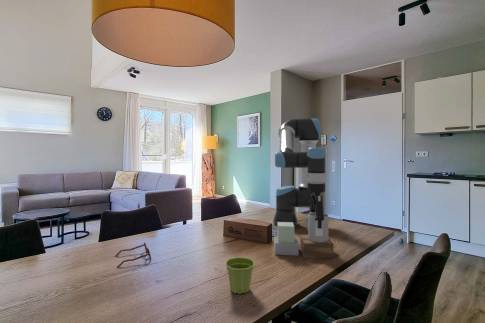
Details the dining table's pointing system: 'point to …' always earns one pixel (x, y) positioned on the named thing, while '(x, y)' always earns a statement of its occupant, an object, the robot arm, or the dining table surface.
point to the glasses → (137, 257)
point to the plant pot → (240, 274)
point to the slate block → (286, 247)
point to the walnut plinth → (316, 248)
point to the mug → (311, 228)
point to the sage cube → (285, 232)
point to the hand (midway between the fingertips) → (316, 230)
